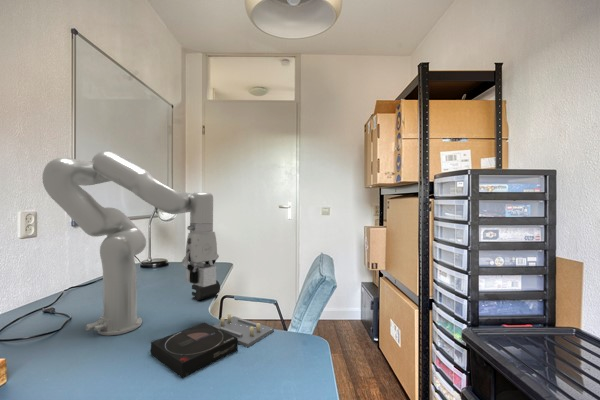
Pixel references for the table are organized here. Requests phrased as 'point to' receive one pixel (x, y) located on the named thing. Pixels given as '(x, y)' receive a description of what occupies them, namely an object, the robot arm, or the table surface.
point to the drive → (203, 275)
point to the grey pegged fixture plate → (244, 330)
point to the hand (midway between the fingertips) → (200, 280)
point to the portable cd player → (193, 348)
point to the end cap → (205, 291)
